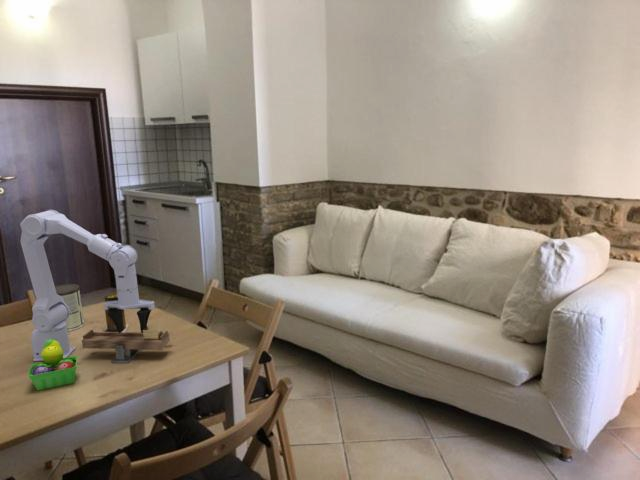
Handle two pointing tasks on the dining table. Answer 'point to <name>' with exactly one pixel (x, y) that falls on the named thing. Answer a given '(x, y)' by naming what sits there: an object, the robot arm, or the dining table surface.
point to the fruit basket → (53, 367)
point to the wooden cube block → (153, 332)
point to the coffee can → (72, 305)
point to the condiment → (110, 323)
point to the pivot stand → (124, 354)
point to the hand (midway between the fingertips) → (132, 331)
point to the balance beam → (123, 340)
